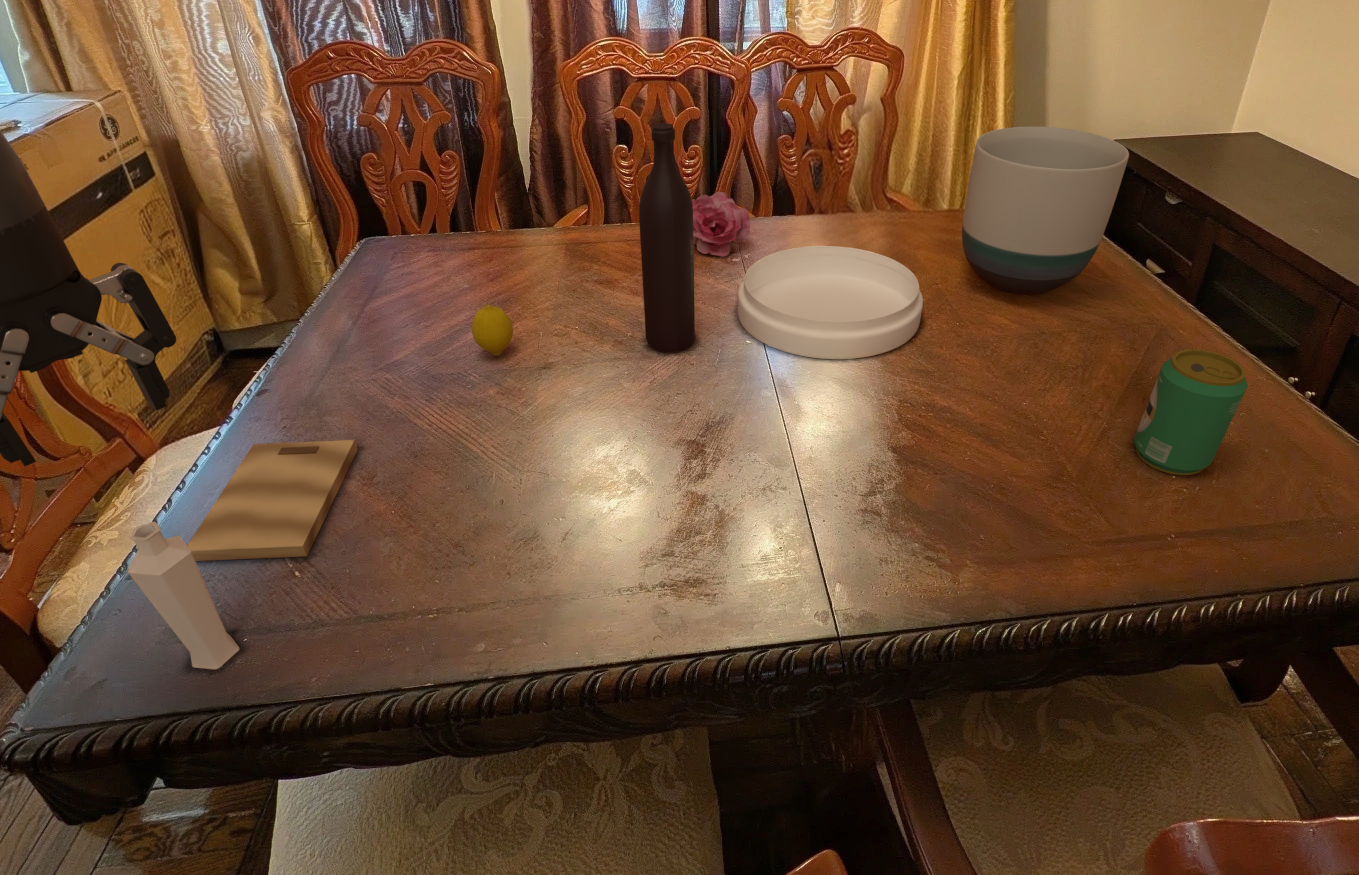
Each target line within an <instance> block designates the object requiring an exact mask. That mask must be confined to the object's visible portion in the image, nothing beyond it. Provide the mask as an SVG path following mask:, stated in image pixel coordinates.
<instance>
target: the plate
mask: <svg viewBox="0 0 1359 875" xmlns="http://www.w3.org/2000/svg"><path fill="white" fill-rule="evenodd" d="M923 306H924V298H923V294H922V292H921V289H920V284H919V280H918V278H917V276H916V275H915V274H914V273H913V271H911V269H909V268H908V267H907V266H906V265H904V264H902V263H901V262H899V261H897V260H895V259H893V258H891V257H888V256H885V255H883V254H881V253H877V252H874V251H870V250H866V249H861V248H856V247H848V246H837V245H810V246H807V245H806V246H800V247H799V246H798V247H793V248H789V249H788V248H787V249H783V250H779V251H776V252H773V253H770V254H767V255H765V256H763V257H761V258H759V259H758V260H756V261H755V262H754V263H752V264H751V265H750V266H749V267H748V268H747V270H746V271H745V274H744V278H743V280H742V281H741V282H740V284H739V287H738V291H737V316H738V320H739V323H740V324H741V326H742V327H743V329H744V330H745V331H746V332H747V333H748V334H749V335H750V336H752V337H753V338H755V339H756V340H758V341H759V342H761V343H763V344H764V345H766V346H769V347H771V348H773V349H776V350H778V351H780V352H784V353H787V354H791V355H795V356H796V355H797V356H800V357H806V358H812V359H822V360H852V359H853V360H854V359H863V358H867V357H868V358H869V357H873V356H877V355H881V354H885V353H888V352H890V351H893V350H895V349H897V348H899V347H901V346H903V345H905V344H906V343H907V342H909V341H910V340H911V339H912V338H913V337H914V336H915V335H916V333H917V332H918V329H919V327H920V324H921V319H922V312H923Z"/></svg>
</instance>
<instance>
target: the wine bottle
mask: <svg viewBox="0 0 1359 875" xmlns="http://www.w3.org/2000/svg"><path fill="white" fill-rule="evenodd" d="M650 133H651V141H653V162H652V167H651V170H650V172H649V174H648V177H647V179H646V180H645V183H644V186H643V187H642V191H641V193H640V198H639V205H638V211H639V212H638V221H639V223H638V224H639V240H640V255H641V256H640V258H641V275H642V277H641V278H642V293H643V294H642V295H643V311H644V325H645V326H644V328H645V329H644V330H645V340H646V343H647V345H648V347H649V348H650V349H652V350H654V351H657V352H661V353H678V352H682V351H685V350H687V349H689V348H691V347H692V346H693V344H694V342H695V340H696V317H695V314H696V312H695V306H696V305H695V247H694V246H695V245H694V237H693V206H692V200H693V199H692V196H691V193H690V190H689V187H688V186H687V183H686V182H685V180H684V178H683V176H682V175H681V172H680V170H679V168H678V166H677V164H676V156H675V144H674V142H675V140H676V129H675V128H674V124H672V123H668V122H659V123H656V124H653V125H652V129H651V132H650Z"/></svg>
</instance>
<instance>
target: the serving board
mask: <svg viewBox="0 0 1359 875" xmlns="http://www.w3.org/2000/svg"><path fill="white" fill-rule="evenodd" d="M357 452H358V445H357V443H356V440H355V439H344V440H321V441H320V440H319V441H318V440H317V441H316V440H315V441H295V442H291V441H290V442H269V443H267V442H266V443H253V444H252V445H251V447H250V448H249V450H248V451H247V453H246V455H245V456H244V458H243V459H242V461H241V463H240V464H239V465H238V467H237V468H236V470H235V472H234V473H233V475H232V476H231V477H230V479H229V481H228V482H227V484H226V485H225V486H224V488H223V490H222V491H221V492H220V495H219V496H218V497H217V499H216V500H215V502H214V503H213V505H212V507H211V508H210V510H209V511H208V513H207V514H206V516H205V517H204V519H203V521H202V522H201V524H200V525H199V527H198V528H197V530H196V532H195V533H194V534H193V535H192V537H191V539H189V540H190V541H189V542H188V543H187V544H186V545H187V546H188V547H189V549H190V550H191V552H192V554H193V556H194V559H195V561H196V562H208V561H233V560H253V559H277V558H278V559H279V558H299V557H300V558H301V557H308V555H309V553H310V551H311V549H312V547H313V544H314V543H315V540H316V538H317V537H318V534H319V532H320V530H321V528H322V526H323V524H324V522H325V519H326V517H327V515H328V514H329V511H330V509H331V507H332V504H333V503H334V501H335V498H336V497H337V494H338V492H339V490H340V488H341V486H342V484H343V482H344V480H345V477H346V475H347V473H348V471H349V469H350V467H351V465H352V463H353V461H354V459H355V456H356V454H357Z"/></svg>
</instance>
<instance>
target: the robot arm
mask: <svg viewBox="0 0 1359 875" xmlns="http://www.w3.org/2000/svg"><path fill="white" fill-rule="evenodd" d="M105 295H108V296H111V297H112V298H113V299H115V300H116V301H117V302H118V303H121V304H128V305H129V306H130V308H131V310H132V311H133V313H134V316H135V317H136V319H137V321H138V322H139V324H140V325H141V326H140V327H142V329H143V330H142V331H141V332H140V333H139V334H138V335H137V336H135V337H132V336H131V335H128V334H126V333H123V332H121V331H119V330H117V329H115V328H113V327H111V325H108V324H106V323H104V322H102V321H100V320H98V315H99V312H100V308H101V304H102V300H103V298H102V297H103V296H105ZM176 342H177V336H176V334H175V332H174V331H173V329H172V327H171V325H170V323H169V322H168V320H167V318H166V316H165V314H164V312H163V310H162V308H161V307H160V305H159V304H158V302H157V300H156V299H155V296H154V295H153V292H152V291H151V289H150V287H149V286H148V284H147V282H146V279H145V278H144V276H143V275H142V274H141V273H139V272H138V271H137V270H136V269H134V268H133V267H132V266H130V265H128V264H126V263H125V262H116V263H114V264H113V265H112V266H111V268H110V271H109V272H106V273H103V274H101V275H98V276H96V277H93V278H91V279H89V278H87V277H85V276H84V275H83V274H82V272H81V271H80V270H79V267H78V266H77V263H76V262H75V260H74V257H73V256H72V254H71V252H70V250H69V248H68V246H67V244H66V243H65V240H64V239H63V237H62V234H61V233H60V231H59V229H58V228H57V225H56V223H55V222H54V219H53V218H52V216H51V214H50V212H49V210H48V208H47V206H46V203H45V202H44V200H43V199H42V196H41V195H40V193H39V191H38V189H37V187H36V185H35V184H34V182H33V180H32V177H31V176H30V173H29V172H28V170H27V168H26V167H25V164H24V163H23V161H22V159H21V158H20V156H19V154H18V153H17V152H16V150H15V149H14V147H13V146H12V144H11V143H10V142H9V141H8V139H7V138H6V136H5V135H4V133H3V132H2V130H1V129H0V455H1V457H2V458H3V459H4V460H5V461H7V462H8V463H10V464H13V463H16V462H18V461H20V463H21V464H22V465H23V467H27V466H30V465H32V464H35V463H36V462H37V461H36V459H35V457H34V455H33V454H32V453H31V451H30V450H29V448H28V447H27V445H26V444H25V442H24V441H23V439H22V437H21V436H20V435H19V433H18V431H17V430H16V428H15V427H14V425H13V424H12V422H11V421H10V419H9V418H8V417H7V416H6V415H5V413H4V410H5V407H6V403H7V399H8V396H9V395H11V394H12V392H13V389H14V386H15V383H16V379H17V376H18V373H19V372H28V371H29V373H30V374H33V373H35V372H38V371H40V370H43V369H45V368H47V367H48V366H50V365H51V364H53V363H55V362H56V361H64V360H70V359H73V358H76V357H78V356H81V355H83V354H84V353H83V351H84V350H85V349H86V348H88V346H89V345H91V346H94V347H96V348H98V349H101V350H103V351H106V352H108V353H109V354H112V355H117V356H119V357H122V358H125V360H124V361H125V363H126V366H127V367H128V369H129V371H130V373H131V376H132V377H133V378H134V380H135V383H136V384H137V386H138V388H139V390H140V392H141V394H142V396H143V397H144V399H145V401H146V402H147V404H148V405H149V406H150V407H151V408H152V409H154V410H155V412H157V411H160V410H162V409H164V408H166V407H167V404H166V402H165V400H166V399H169V398H170V389H169V387H168V385H167V383H166V381H165V379H164V376H163V375H162V373H161V370H160V368H159V367H158V365H157V363H156V357H157V355H158V354H159V353H160V352H162V350H164V349H165V348H166V349H167V348H171V347H173V346H174V345H175V344H176Z"/></svg>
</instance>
